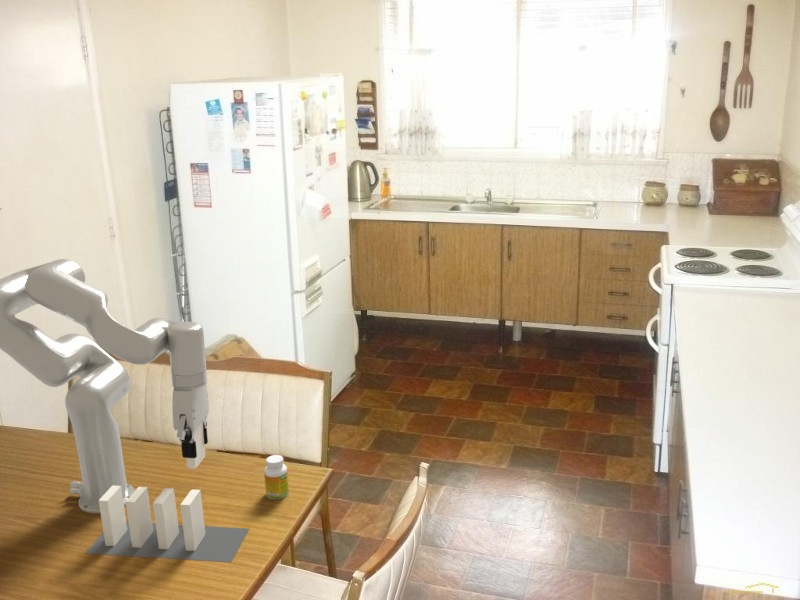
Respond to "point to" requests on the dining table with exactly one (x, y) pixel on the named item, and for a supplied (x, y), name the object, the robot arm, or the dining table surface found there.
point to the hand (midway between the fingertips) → (195, 449)
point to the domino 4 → (197, 447)
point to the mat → (178, 545)
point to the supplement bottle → (276, 477)
